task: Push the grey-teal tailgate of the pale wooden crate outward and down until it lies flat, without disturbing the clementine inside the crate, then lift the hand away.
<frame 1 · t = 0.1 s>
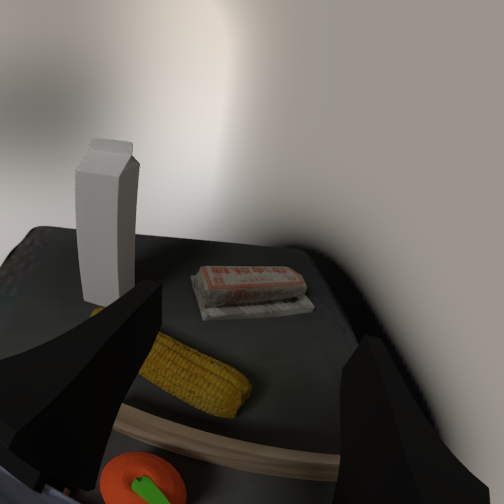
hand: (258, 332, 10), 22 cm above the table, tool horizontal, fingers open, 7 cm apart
packaged product: (250, 299, 48), on the table
milk: (109, 295, 40), on the table
food: (159, 375, 31), on the table
clementine: (150, 502, 18), resting in crate
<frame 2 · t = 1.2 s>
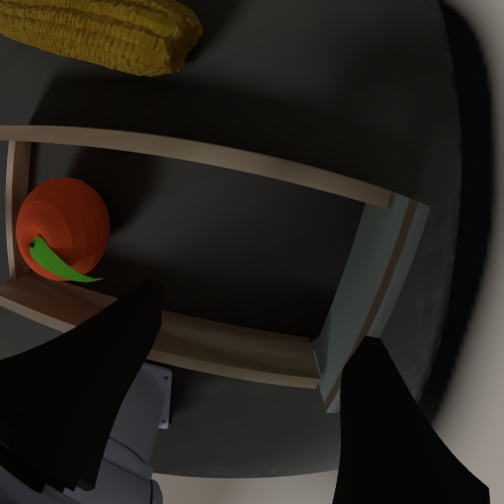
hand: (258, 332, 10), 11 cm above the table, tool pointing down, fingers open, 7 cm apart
tailgate: (359, 300, 18), point 4 cm above the table, hinge at 0.0°
food: (87, 30, 16), on the table
clementine: (92, 220, 21), resting in crate
crate: (155, 234, 21), on the table
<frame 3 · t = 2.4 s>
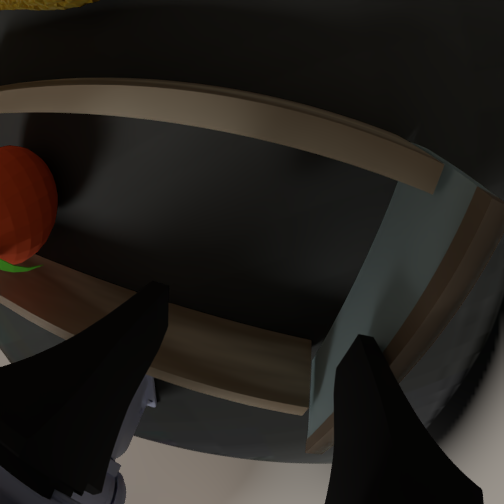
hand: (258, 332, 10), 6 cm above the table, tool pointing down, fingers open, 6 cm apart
tailgate: (373, 323, 12), point 4 cm above the table, hinge at 0.0°, touching gripper
clementine: (49, 186, 16), resting in crate
crate: (111, 203, 15), on the table
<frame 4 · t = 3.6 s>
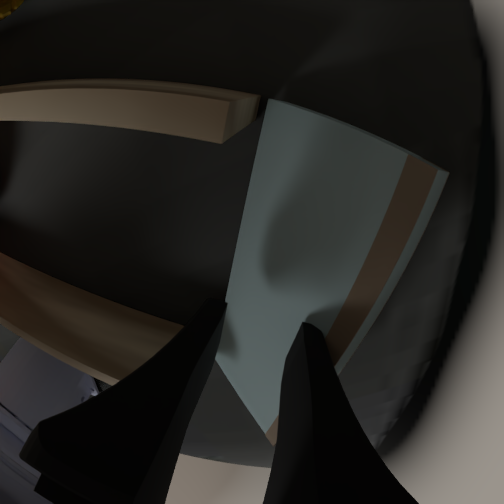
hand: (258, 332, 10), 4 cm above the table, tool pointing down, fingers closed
tailgate: (282, 309, 11), point 3 cm above the table, hinge at 41.8°, touching gripper
crate: (26, 195, 14), on the table
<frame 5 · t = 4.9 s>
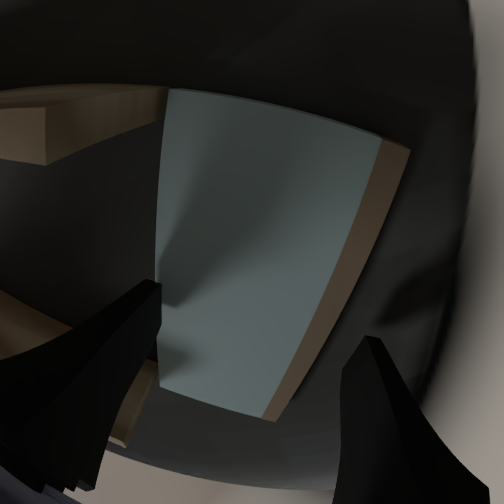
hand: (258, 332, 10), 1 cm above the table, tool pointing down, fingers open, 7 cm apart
tailgate: (241, 310, 11), point 1 cm above the table, hinge at 87.9°
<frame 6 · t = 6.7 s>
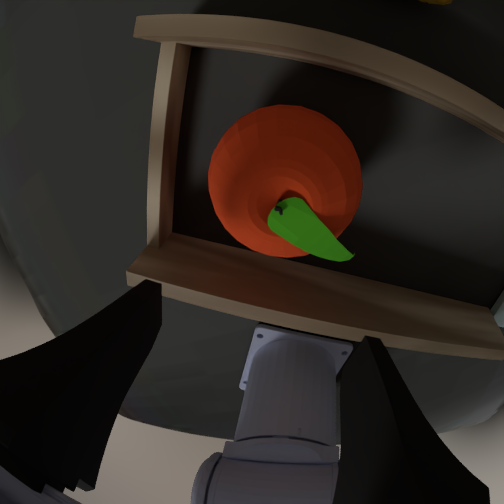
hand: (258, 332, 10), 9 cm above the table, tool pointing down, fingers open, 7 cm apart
clementine: (296, 167, 17), resting in crate
crate: (385, 193, 16), on the table
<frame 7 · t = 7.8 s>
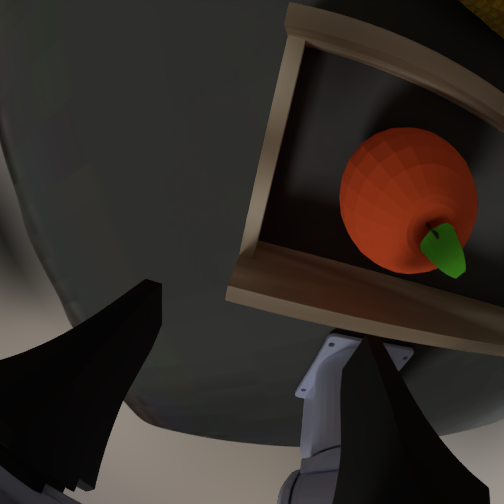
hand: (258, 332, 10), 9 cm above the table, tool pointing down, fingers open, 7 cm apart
clementine: (395, 183, 16), resting in crate
crate: (465, 212, 15), on the table
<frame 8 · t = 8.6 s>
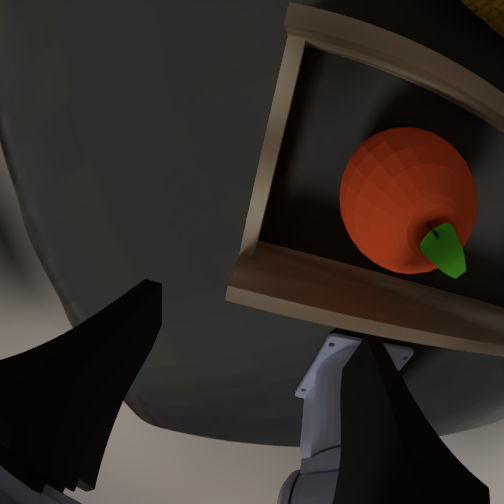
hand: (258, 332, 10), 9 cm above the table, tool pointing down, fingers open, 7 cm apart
clementine: (395, 183, 16), resting in crate
crate: (465, 212, 15), on the table
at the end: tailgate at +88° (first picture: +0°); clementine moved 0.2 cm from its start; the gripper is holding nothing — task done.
